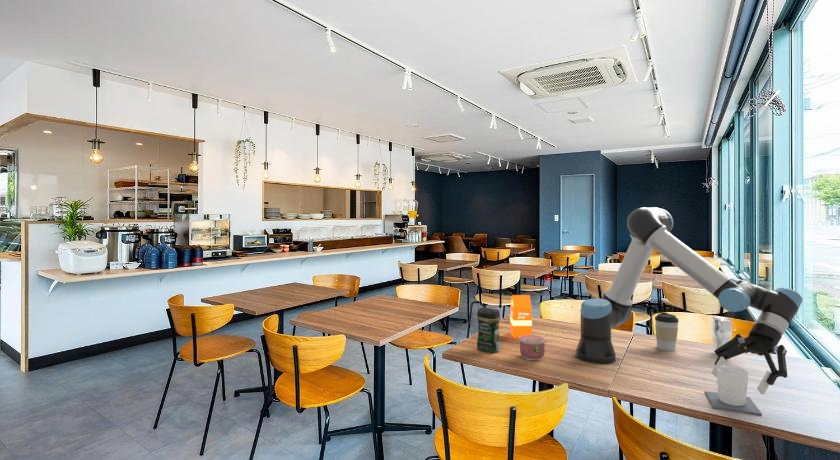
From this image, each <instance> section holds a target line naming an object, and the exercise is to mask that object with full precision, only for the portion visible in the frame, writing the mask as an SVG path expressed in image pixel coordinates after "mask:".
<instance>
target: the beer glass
mask: <svg viewBox="0 0 840 460" xmlns="http://www.w3.org/2000/svg"><path fill="white" fill-rule="evenodd" d="M711 318H712V319H711V335H712V337H711V338H712V343H713V347H712V353H711V354H713V355H714V354H715V352H714V351H715V350H716V349H718V348H719V347H721V346H722V345H724V344H725V343H727V342H729V341H730V340H732V334H733V323H732V319H731V318H728V317H724V316H723V317H722V316H713V317H711ZM715 356H717V355H716V354H715Z"/></svg>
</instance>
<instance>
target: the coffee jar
mask: <svg viewBox="0 0 840 460" xmlns="http://www.w3.org/2000/svg"><path fill="white" fill-rule="evenodd" d="M476 319H477V321H478V323H477V324H478V331H477V332H478V333H477V342H476V349H477V350H478V351H480V350H481V351H480V352H483V351H484V352H485V353H488V352H489V353H488V354H495V353H494V352H496V353H497V352H500V350H501V341H500V329H499V328H500V326H499V325H500V321H501V314H500V310H499V309H497V308H490V307H485V306H482V307H479V308H478V309H477V313H476Z"/></svg>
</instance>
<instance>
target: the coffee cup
mask: <svg viewBox="0 0 840 460" xmlns="http://www.w3.org/2000/svg"><path fill="white" fill-rule="evenodd" d="M654 321H655V338H656V348H657V349H658V350H661V351H668V352H673V351H676V346H677V345H676V344H677V341H678V339H677V338H678V331H679V327H678V325H679V322H680V321H679V318H678V317H677V316H676V315H675V314H670V313H667V312H660V313H658V314H657V315H655V318H654Z"/></svg>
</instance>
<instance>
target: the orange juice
mask: <svg viewBox="0 0 840 460" xmlns="http://www.w3.org/2000/svg"><path fill="white" fill-rule="evenodd" d="M510 300H511V301H510V307H509V308H510V312H509V315H510V317H509V321H510V323H509V324H510V327H509V328H510V329H509V332H510V333H511V334H510V336H511V337H512V336H513V337H514V338H513V337H512V338H513V339H517V338H516V337H521V336H524V335H533V332H532V331H533V315H532V314H533V312H532V311H533V309H532V308H533V307H532V301H531V295H530V294H512V295H511V299H510Z"/></svg>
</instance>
